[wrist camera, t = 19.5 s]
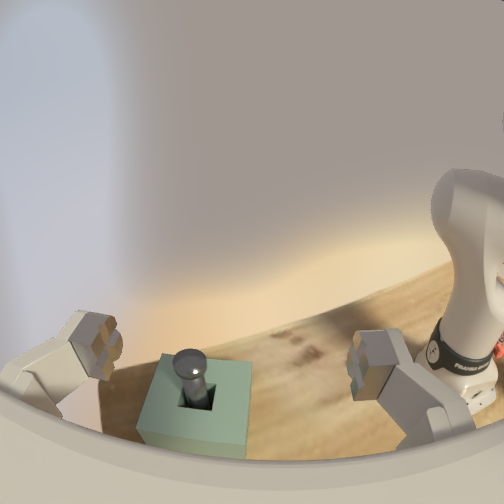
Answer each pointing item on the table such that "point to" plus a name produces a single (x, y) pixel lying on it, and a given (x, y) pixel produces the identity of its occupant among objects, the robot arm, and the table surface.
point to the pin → (193, 377)
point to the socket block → (199, 411)
